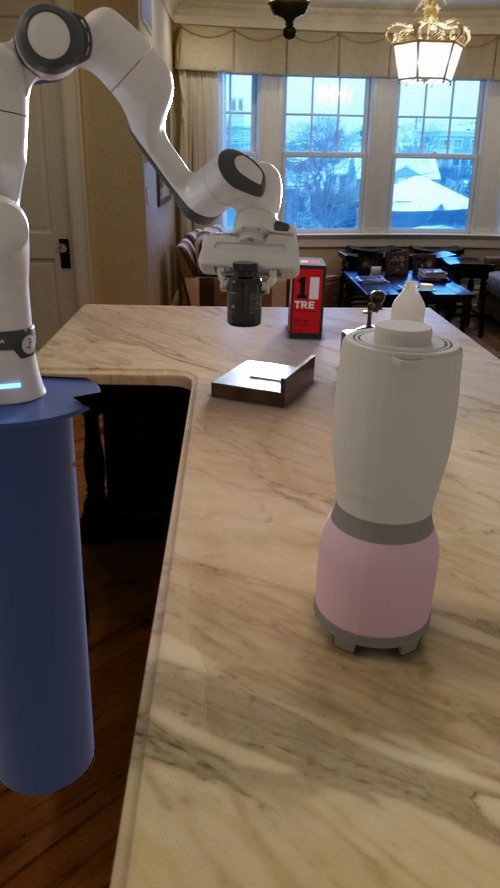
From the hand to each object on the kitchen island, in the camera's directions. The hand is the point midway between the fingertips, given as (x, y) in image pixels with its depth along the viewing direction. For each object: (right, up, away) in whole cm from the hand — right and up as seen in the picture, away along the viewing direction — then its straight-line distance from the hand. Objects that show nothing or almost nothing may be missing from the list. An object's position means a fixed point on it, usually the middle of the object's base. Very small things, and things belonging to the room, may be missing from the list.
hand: (244, 291), depth 137 cm
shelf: (+4, -18, +14) cm, 23 cm away
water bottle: (+32, -22, +6) cm, 39 cm away
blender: (+14, -48, -61) cm, 79 cm away
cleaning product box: (+17, +2, +65) cm, 68 cm away
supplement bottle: (0, -6, +3) cm, 7 cm away
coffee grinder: (+28, -13, +29) cm, 42 cm away
